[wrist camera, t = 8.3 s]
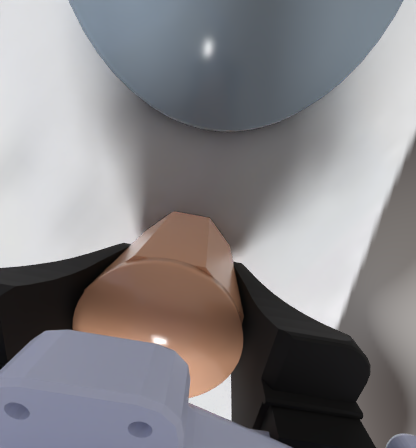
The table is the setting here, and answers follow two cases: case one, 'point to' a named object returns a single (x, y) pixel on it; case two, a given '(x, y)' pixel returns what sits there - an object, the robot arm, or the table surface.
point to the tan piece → (173, 297)
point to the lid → (233, 53)
